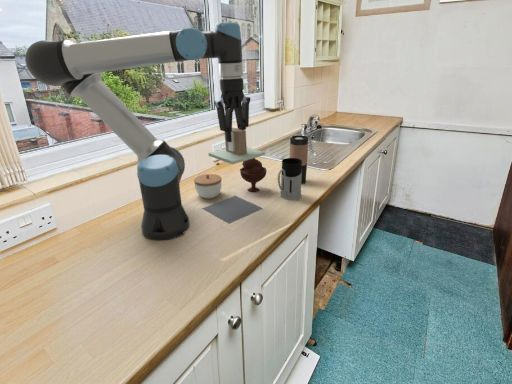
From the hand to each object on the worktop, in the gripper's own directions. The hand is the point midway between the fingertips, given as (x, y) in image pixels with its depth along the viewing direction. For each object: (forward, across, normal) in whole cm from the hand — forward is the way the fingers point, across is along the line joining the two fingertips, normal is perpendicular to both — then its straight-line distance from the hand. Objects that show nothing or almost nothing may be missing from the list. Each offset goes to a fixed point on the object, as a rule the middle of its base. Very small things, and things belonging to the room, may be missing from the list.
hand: (236, 149), depth 109 cm
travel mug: (+23, +34, +2) cm, 41 cm away
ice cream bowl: (+22, +13, +7) cm, 27 cm away
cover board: (+2, 0, 0) cm, 2 cm away
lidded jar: (+22, -4, +15) cm, 27 cm away
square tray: (+22, -4, -1) cm, 22 cm away
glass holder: (+23, +17, -8) cm, 30 cm away
